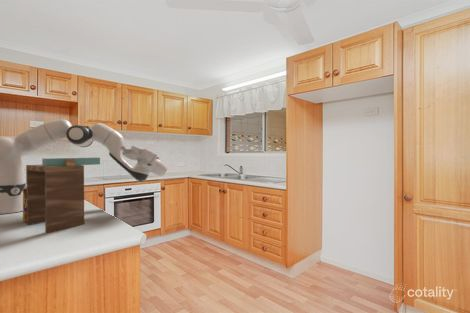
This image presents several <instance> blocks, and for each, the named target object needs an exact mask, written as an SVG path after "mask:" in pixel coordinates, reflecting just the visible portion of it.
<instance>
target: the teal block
mask: <svg viewBox="0 0 470 313" xmlns="http://www.w3.org/2000/svg"><path fill="white" fill-rule="evenodd" d="M65 159H75V165H84V166H91V165H92V166H93V165H94V166H95V165H101V157H57V158H56V157H55V158H54V157H52V158H42V160H41V162H42V163H41V165H42V166H44V167H50V166H65Z"/></svg>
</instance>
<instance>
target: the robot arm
mask: <svg viewBox="0 0 470 313" xmlns="http://www.w3.org/2000/svg"><path fill="white" fill-rule="evenodd" d="M64 139H67V140H68V141H69V142H70V143H71V144H72V145H75V146H77V147H80V148H87V147H89V146H91V145H92V144H93V142H98V143H99V144H101V145H102V146H104V147H105V148H106V149H107V150H108V155H109V157H110V158H111V159H112V160H114V161H115V162H116V163H117V164H118V165H120V167H121V168H123V170H125V171H126V172H127V173H128V174H129V175H130V176H131V177H132V178H133V179H134V180H135V181H137V182H144V181H146V180H147V178H148V177H149V175H150V173H151V174H153V175H155V176H158V177H162V176H164V175H165V174H166V173H167V171H168V166H167V165H166V164H165V163H164V162H163V161H161V160H160V158H159V157H158V154H156V153H154V152H152V151H151V150H149V149H145V148H144V149H143V148H139V147H137V146H135V145H132V146H131V147H130V148H126V146H125V138H124V136H123V135H122V134H121V133H120V132H118V131H117V130H116V129H114V128H113V127H110V126H108V125H106V124H104V123H102V122H96V123H94V124H92V126H91V127H89V126H88V125H80V124H79V125H78V124H77V125H76V124H75V125H72V122H70V121H69V120H67V119H64V118H63V119H61V118H60V119H56V120H51V121H48V122H46V123H42V124H40V125H37V126H34V127H32V128H28V129H27V130H26V131H23V132H21V133H19V134H18V135H15V136H9V137H8V136H2V137H0V215H1V214H5V215H6V214H14V213H19V212H23V189H24V188H26V180H25V179H26V175H25V174H26V170H25V169H26V168H25V167H24V165H23V162H22V157H24V156H27V155H29V154H31V153H33V152H35V151H38V150H39V149H41V148H44V147H46V146H48V145H51V144H55V143H56V142H59V141H61V140H64ZM123 157H124V158H125V157H126V158H127V159H129V160H130V161H131V160H132V161H136V164H135V165H134V166H132V165H130V163H128V162H127V161H126V160H125V159H124V158H123Z"/></svg>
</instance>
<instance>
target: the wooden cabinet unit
mask: <svg viewBox="0 0 470 313" xmlns="http://www.w3.org/2000/svg"><path fill="white" fill-rule="evenodd" d="M25 169H26V170H25V174H26V175H25V179H26V180H25V184H26V190H27V222H26V225H27V226H29V225H34V224H40V223H41V224H42V223H44V224H45V226H44V227H45V228H44V232H45V233H52V232H56V231H57V232H58V231H61V230H64V229H65V230H66V229H69V228H73V227H74V228H75V227H77V226H82V225H85V165H75V159H65V166H50V167H44V166H42V164H26V165H25Z"/></svg>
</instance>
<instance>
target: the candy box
mask: <svg viewBox="0 0 470 313" xmlns="http://www.w3.org/2000/svg"><path fill="white" fill-rule="evenodd" d="M22 222H23V223H25V222H26V223H27V190H26V188H24V189H23V211H22Z"/></svg>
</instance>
